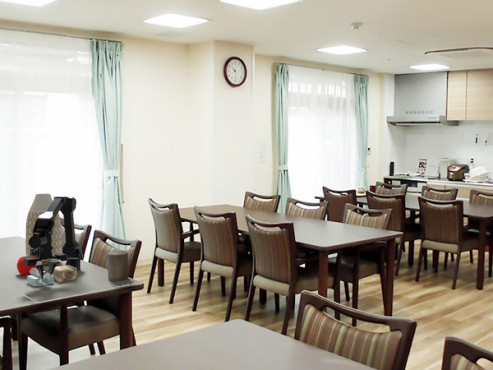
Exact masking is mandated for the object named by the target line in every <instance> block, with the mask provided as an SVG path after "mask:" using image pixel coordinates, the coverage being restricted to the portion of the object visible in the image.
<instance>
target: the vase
mask: <svg viewBox="0 0 493 370" xmlns="http://www.w3.org/2000/svg"><path fill="white" fill-rule="evenodd" d="M51 194H52V193H36V194H35V195H34V199H33V201H32V204H30V205H31V206H30V207H29V210H28V212H27V216H26V220H25V256H30V249H33V248H31V247H30V246H29V243H28V242H29V239H30V238H31V237H32V236H33V233H32V232H33V228H34V225H35V222H36V220H37V218H38V217H39V216H40V215H41V214H44V213H45V212H46V211H47V209H48V208H49V206H50V205H51V203H52V202H53V200H54V199H53V198H52V195H51ZM59 212H60V211H59ZM59 212H58V214H57V216H56V217H55V219H54V220H55V225H54V228H53V230H52V231H53V233H52V247H53V249H52V255H53V256H54V255H55V254H58V253H62V251H63V249H62V247H63V245H62V244H63V241H62V238H63V236H62V221H61V216H60V213H59ZM37 230H39V229H37ZM35 250H37V249H35ZM42 265H43V266H49V263H48V261H46V262H42Z"/></svg>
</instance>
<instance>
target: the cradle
mask: <svg viewBox="0 0 493 370" xmlns="http://www.w3.org/2000/svg"><path fill="white" fill-rule="evenodd" d="M26 277H27V278H26V279H27V284H28V285H30V286H32V287H35V288H36V287H40V286H47V285H51V284H54V283H55V282H54V281H55V280H54V277H53V276H51V279H49V280H45V279H41V280H40V278H39V277H36V276H33V275H30V276H26Z"/></svg>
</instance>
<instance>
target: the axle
mask: <svg viewBox="0 0 493 370" xmlns="http://www.w3.org/2000/svg"><path fill="white" fill-rule="evenodd" d="M30 274H31V275H34V276H35V277H37V278H39V279H41V277H40V274H39V272H38V269H36V268H32V269H31V270H30ZM51 276H52V275H51V273H49V271H44V270H43V279H45V280H49V279H51Z"/></svg>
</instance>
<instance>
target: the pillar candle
mask: <svg viewBox="0 0 493 370" xmlns="http://www.w3.org/2000/svg"><path fill="white" fill-rule="evenodd" d="M107 280H108V281H111V282H123V281H127V280H129V252H128V251H127V250H112V251H111V250H110V251H107Z"/></svg>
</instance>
